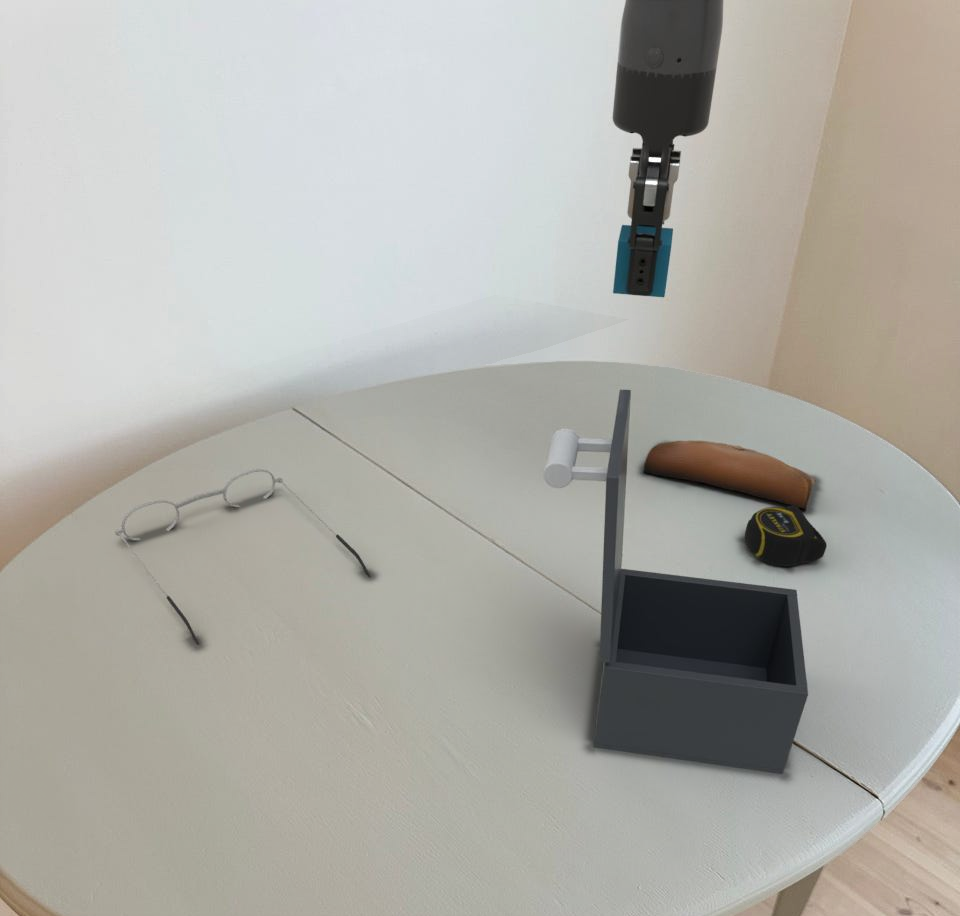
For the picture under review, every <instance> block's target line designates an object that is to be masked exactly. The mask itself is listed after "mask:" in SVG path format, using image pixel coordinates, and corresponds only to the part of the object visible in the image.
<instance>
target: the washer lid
mask: <svg viewBox="0 0 960 916" xmlns="http://www.w3.org/2000/svg"><path fill="white" fill-rule="evenodd" d="M631 394H632V389H619V392H618V399H617V405H616V412H615V417H614V425H613V431H612V437H611V439H609V438H607V439H606V438H586V437H585V438H583V437H581V438H580V437H579V435H578V434H577V432H576V431H575V430H573V429H570V428H561V429H557V431H555V432H554V433H553V435H552V438H551V441H550V445H549V448H548V453H547V457H546V462H545V465H544V469H543V475H542V476H543V479H544V481H545V483H546V484H547V485H548V486H550V487H552V488H554V489H563V488H566V487H568V486H569V485H570V484H571V482H572V481H592V482H605V500H604V501H605V503H604V506H605V507H604V525H603V527H604V528H603V553H602V583H601V604H600V605H601V607H600V633H599V638H600V639H599V658H598V659H599V663H604V662H609V663H610V661H611V652H612V644H613V635H614V627H615V618H616V609H617V601H618V592H619V584H620V575H621V569H622V565H623V547H624V531H625V529H624V528H625V514H626V513H625V512H626V511H625V510H626V494H627V493H626V491H627V475H628V474H627V473H628V472H627V471H628V456H629V455H628V453H629V452H628V451H629V435H630V434H629V433H630V417H631V416H630V414H631V397H632V395H631ZM579 452H587V453H588V452H589V453H591V452H592V453H609V457H608V464H607V467H597V466H576V463H577V459H578V458H577V457H578V453H579Z"/></svg>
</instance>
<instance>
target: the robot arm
mask: <svg viewBox="0 0 960 916" xmlns="http://www.w3.org/2000/svg"><path fill="white" fill-rule="evenodd" d="M620 22H621V23H620V31H619V42H618V54H617V63H616V73H615V87H614V96H613V97H614V98H613V107H612V109H613V110H612V122H613V125H614V126H616V128H617V129H619V130H621V131H623V132H625V133H629V134H638V135H639V136H640V137H641V140H642V141H641V142H642V144H641V147H632V151H631V155H630V157H629V158H630V160H629V166H628V178H629V181H630V185H629V186H630V187H629V195H628V201H627V202H628V203H627V210H626V211H627V213H626V214H627V217H628V218H630V219H631V222H630V225H631V231H630V237H628V245H629V250H631V252H630V261H629V270H628V279H627V288H626V290H627V293H628V294H630V295H629V296H640V297H650V296H649V295H651V293H652V291H653V284H654V276H655V268H656V260H657V252H659V247H661V245H662V240H660V238H661V231H662V228H663V226H664V225H665V222H666V221H668V219H669V218H670V216H671V208H672V201H673V193H674V188H675V187H674V186H675V184H676V182H677V181H678V179H679V171H680V167H681V155H682V150H675V143H674V139H675V138H677V137H679V136H680V137H684V138H685V137H691V136H695V135H698V134H700V133H702V132H704V131H705V130H706V129H707V127H708V125H709V121H710V115H711V109H712V101H713V95H714V88H715V81H716V74H717V68H718V61H719V55H720V54H719V53H720V47H721V40H722V34H723V24H724V23H723V22H724V0H625V2H624V7H623V11H622V17H621V21H620ZM638 226H646V227H656V232H655V234H642V233H637V230H638ZM628 294H627V295H628Z"/></svg>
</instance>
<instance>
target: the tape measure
mask: <svg viewBox="0 0 960 916" xmlns="http://www.w3.org/2000/svg"><path fill="white" fill-rule="evenodd" d="M744 532H745V533H744V540H745V544H746V547H747V549H748V550H749V551H750V552H751V553H752V554H753V555H754V556H755V557H757V558H758V560H761V561H763V562H766V563H768V564H772V565H774V566H781V567H793V566H798V565H800V564H804V563H809V562H811V563H812V562H816V561H818V560H820V559H822V558H824V555H825V552H826V549H827V542H826V540H825V538H824V537H823V536H822V534H821V533H820V532H819V531H818V530H817V529H816V528H815V527H814V526H813V524H812V523H811V522H809V520H808V519H807V518H806V516H805V514H804V513H803V512H802V510H801V509H800V507H796V506H793V505H788V506H785V507H780V506H779V507H778V506H769V507H764V508H762V509H759V510H757V511H756V512H755V513H753V514H752V516H751V518H750V519H749V520H748V521H747V524H746V527H745V531H744Z"/></svg>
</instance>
